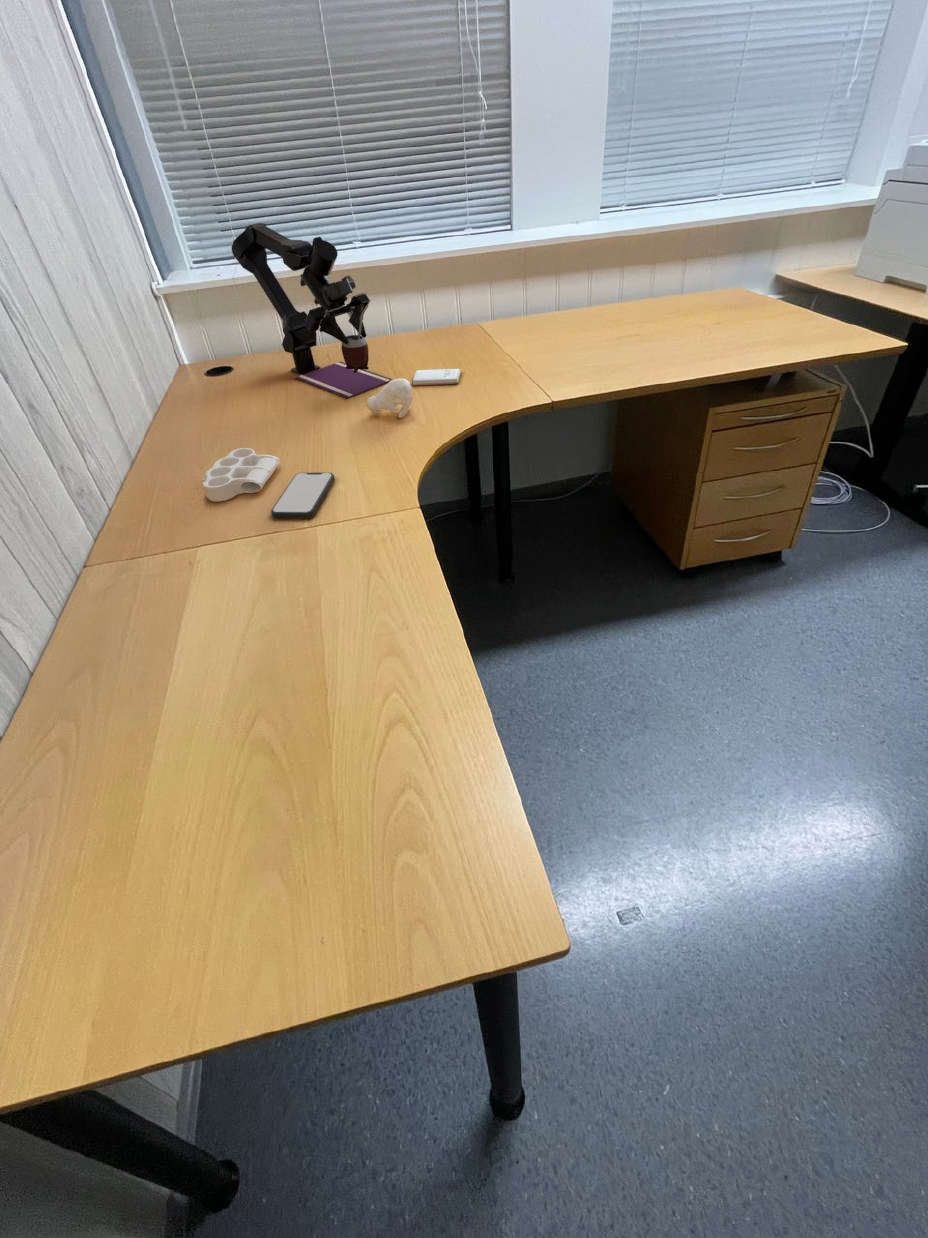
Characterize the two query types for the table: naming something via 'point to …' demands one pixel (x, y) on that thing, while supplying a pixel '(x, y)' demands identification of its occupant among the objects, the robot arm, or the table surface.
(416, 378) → the hard drive
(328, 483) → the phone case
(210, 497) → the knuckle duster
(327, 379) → the towel
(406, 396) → the white animal figurine
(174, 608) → the table surface
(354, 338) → the mate gourd
